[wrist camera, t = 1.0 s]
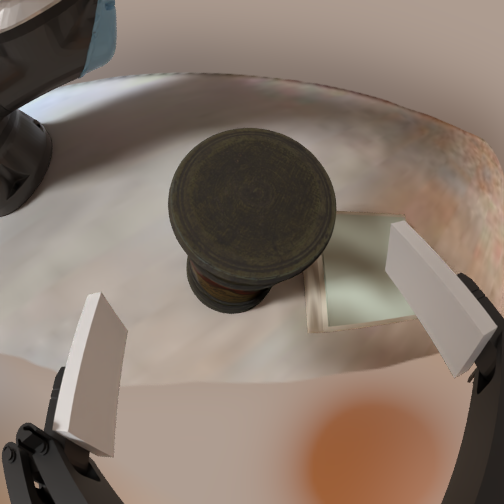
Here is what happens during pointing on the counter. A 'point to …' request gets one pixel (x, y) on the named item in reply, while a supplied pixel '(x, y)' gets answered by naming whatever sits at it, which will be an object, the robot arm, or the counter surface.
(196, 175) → the container
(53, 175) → the counter surface
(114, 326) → the robot arm
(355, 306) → the stand
